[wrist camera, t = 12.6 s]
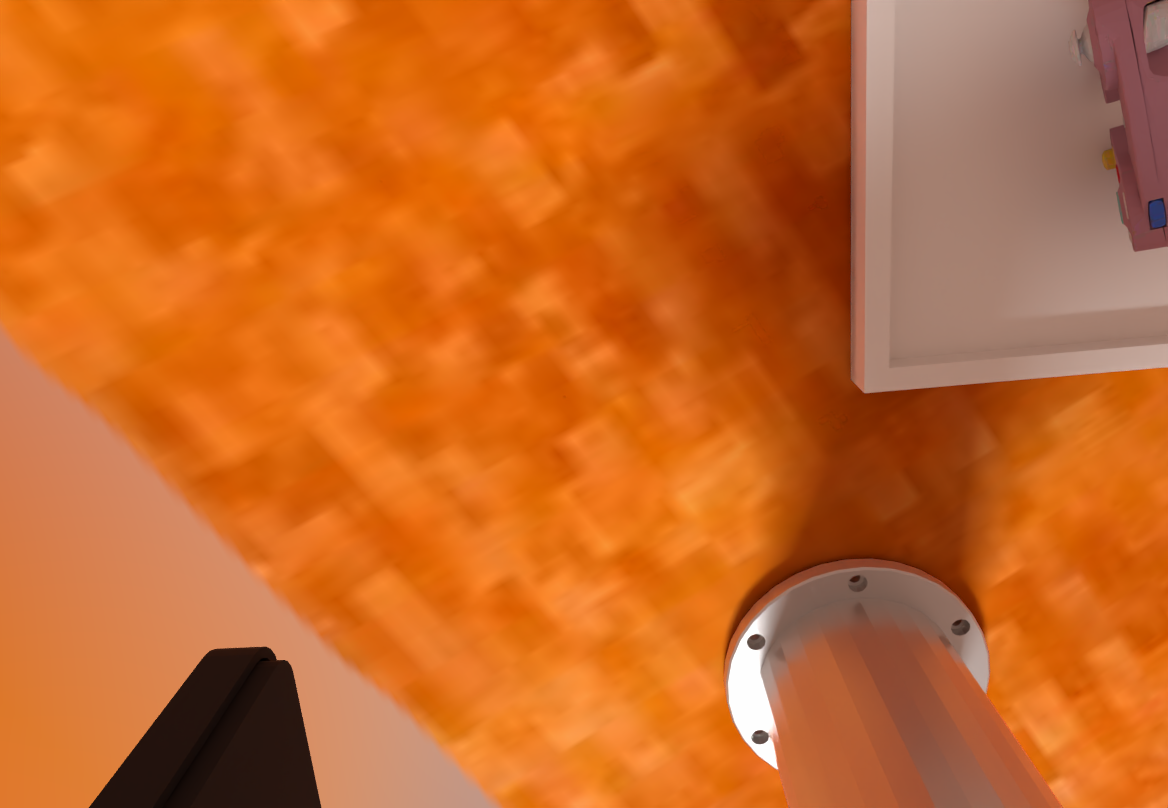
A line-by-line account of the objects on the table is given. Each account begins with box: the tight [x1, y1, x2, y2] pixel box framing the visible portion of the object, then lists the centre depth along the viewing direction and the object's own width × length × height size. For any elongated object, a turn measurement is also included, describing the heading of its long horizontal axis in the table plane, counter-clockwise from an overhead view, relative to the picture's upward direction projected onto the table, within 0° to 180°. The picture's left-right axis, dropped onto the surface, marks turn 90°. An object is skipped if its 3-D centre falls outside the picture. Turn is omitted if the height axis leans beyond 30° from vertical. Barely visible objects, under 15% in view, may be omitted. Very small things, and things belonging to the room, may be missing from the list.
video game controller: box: [1068, 0, 1168, 252], centre depth 29 cm, size 10×5×7 cm, turn 21°
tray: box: [851, 0, 1168, 393], centre depth 32 cm, size 20×20×2 cm
